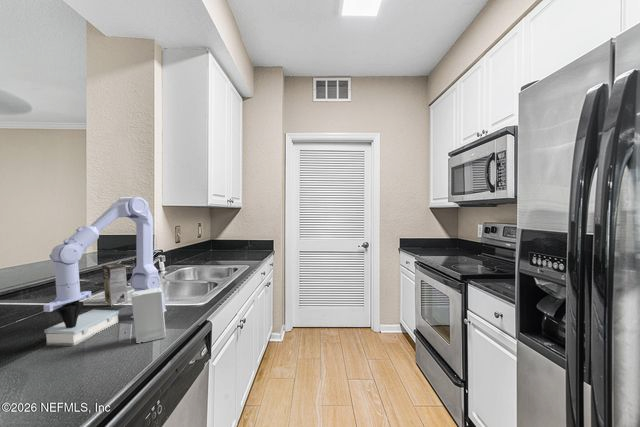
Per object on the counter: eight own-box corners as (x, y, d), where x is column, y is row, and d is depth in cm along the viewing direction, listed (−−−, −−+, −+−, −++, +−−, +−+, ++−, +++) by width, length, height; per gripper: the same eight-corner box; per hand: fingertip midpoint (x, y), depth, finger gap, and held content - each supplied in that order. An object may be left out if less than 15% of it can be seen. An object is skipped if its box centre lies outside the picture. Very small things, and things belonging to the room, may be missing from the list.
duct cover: (118, 313, 115) (118, 310, 115) (74, 334, 97) (74, 331, 97) (93, 312, 116) (93, 309, 116) (44, 333, 98) (44, 329, 98)
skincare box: (165, 331, 105) (162, 286, 104) (165, 338, 100) (162, 290, 99) (135, 337, 101) (132, 290, 101) (134, 345, 96) (131, 295, 95)
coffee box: (104, 302, 140) (102, 265, 139) (121, 298, 145) (119, 262, 144) (111, 306, 134) (108, 267, 133) (128, 302, 138) (125, 265, 138)
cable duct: (119, 322, 115) (118, 312, 115) (75, 345, 97) (74, 334, 97) (95, 322, 116) (94, 312, 116) (47, 345, 98) (46, 333, 98)
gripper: (76, 277, 107) (79, 318, 108) (32, 290, 93) (36, 336, 94) (96, 277, 107) (98, 318, 107) (54, 289, 92) (58, 337, 93)
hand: (70, 327), depth 100 cm, fingers closed, pressing on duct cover
